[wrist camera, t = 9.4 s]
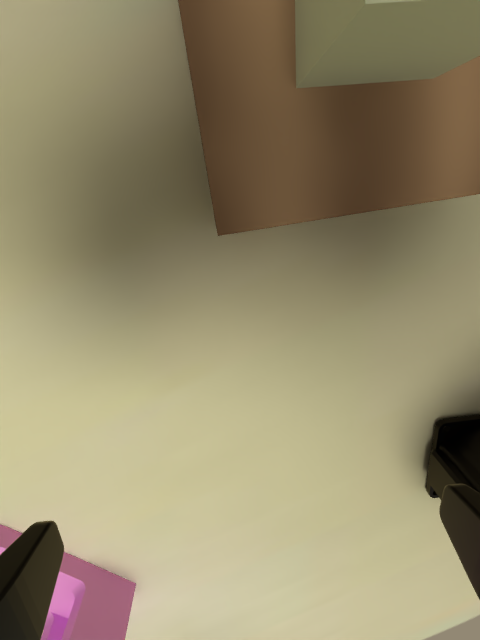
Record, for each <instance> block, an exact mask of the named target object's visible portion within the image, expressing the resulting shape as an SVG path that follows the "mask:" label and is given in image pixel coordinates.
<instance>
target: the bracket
mask: <svg viewBox="0 0 480 640" xmlns="http://www.w3.org/2000/svg"><path fill="white" fill-rule="evenodd" d="M21 535H22V533H20V532H18V531H15V530H13V529H11V528H8V527H6V526H3V525H0V554H1V553H2V552H4V551H5V550H6V549H7V548H8V547H9V546H10V545H11V544H12V543H13V542H14V541H15V540H16V539H17V538H18V537H19V536H21ZM135 586H136V583H133V582H131V581H129V580H127V579H124V578H122V577H120V576H117V575H115V574H113V573H111V572H108V571H106V570H104V569H102V568H99V567H97V566H95V565H92V564H90V563H88V562H86V561H83V560H81V559H79V558H77V557H74V556H72V555H70V554H68V553H65V552H64V554H63V559H62V563H61V567H60V570H59V574H58V578H57V581H56V585H55V589H54V593H53V596H52V600H51V604H50V607H49V611H48V615H47V619H46V622H45V626H44V631H43V634H42V637H41V640H125V636H126V631H127V626H128V621H129V616H130V611H131V606H132V601H133V596H134V591H135Z"/></svg>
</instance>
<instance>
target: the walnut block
mask: <svg viewBox="0 0 480 640" xmlns="http://www.w3.org/2000/svg"><path fill="white" fill-rule="evenodd" d="M178 2H179V8H180V14H181V20H182V26H183V32H184V38H185V44H186V50H187V56H188V62H189V68H190V74H191V80H192V86H193V91H194V97H195V103H196V109H197V115H198V121H199V127H200V133H201V139H202V145H203V151H204V157H205V163H206V169H207V175H208V181H209V187H210V192H211V198H212V204H213V210H214V216H215V222H216V228H217V234H218V236H220V235H226V234H232V233H238V232H245V231H251V230H257V229H263V228H270V227H276V226H282V225H288V224H295V223H301V222H307V221H313V220H320V219H326V218H332V217H338V216H345V215H351V214H357V213H363V212H369V211H376V210H382V209H388V208H394V207H401V206H407V205H413V204H419V203H426V202H432V201H438V200H444V199H451V198H457V197H463V196H469V195H476V194H480V56H478V57H476V58H474V59H472V60H470V61H468V62H466V63H464V64H462V65H460V66H458V67H456V68H454V69H452V70H450V71H448V72H446V73H444V74H442V75H440V76H438V77H436V78H434V79H421V80H407V81H392V82H378V83H364V84H350V85H336V86H322V87H308V88H296V44H295V0H178Z"/></svg>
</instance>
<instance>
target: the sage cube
mask: <svg viewBox="0 0 480 640" xmlns="http://www.w3.org/2000/svg"><path fill="white" fill-rule="evenodd" d="M295 44H296V88H308V87H322V86H336V85H350V84H364V83H378V82H392V81H407V80H421V79H434V78H436V77H438V76H440V75H442V74H444V73H446V72H448V71H450V70H452V69H454V68H456V67H458V66H460V65H462V64H464V63H466V62H468V61H470V60H472V59H474V58H476V57H478V56H480V0H295Z"/></svg>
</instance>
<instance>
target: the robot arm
mask: <svg viewBox="0 0 480 640" xmlns="http://www.w3.org/2000/svg"><path fill="white" fill-rule="evenodd" d="M445 426H446V427H445ZM426 491H427V492H428V494H429V495H430V497H432V498H438V497H439V498H440V499H441V505H440V517H441V520H442V523H443V525H444V527H445V529H446V531H447V533H448V535H449V537H450V540H451V542H452V544H453V546H454V548H455V550H456V552H457V554H458V556H459V559H460V561H461V563H462V565H463V567H464V569H465V571H466V573H467V575H468V578H469V580H470V582H471V584H472V586H473V588H474V590H475V592H476V594H477V596H478V597H479V599H480V415H472V416H464V417H456V418H448V419H442V420H439V421H438V422H437V423H436V425H435V429H434V436H433V443H432V451H431V454H430V461H429V468H428V475H427V486H426ZM63 554H64V545H63V542H62V539H61V536H60V533H59V530H58V527H57V525H56V523H55V522H54V521H43V522H36V523H34V524H33V525H31V526H30V527H29V528H28V529H27V530H26V531H25V532H24V533H23V534H22V535H21V536H19V537H18V538H17V539H16V540H15V541H14V542H13V543H12V544H11V545H10V546H9V547H8V548H7V549H6V550H5V551H4V552H2V553H1V554H0V640H41V636H42V633H43V629H44V626H45V622H46V619H47V615H48V611H49V607H50V604H51V600H52V596H53V593H54V589H55V585H56V581H57V578H58V574H59V570H60V567H61V563H62V559H63Z"/></svg>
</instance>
